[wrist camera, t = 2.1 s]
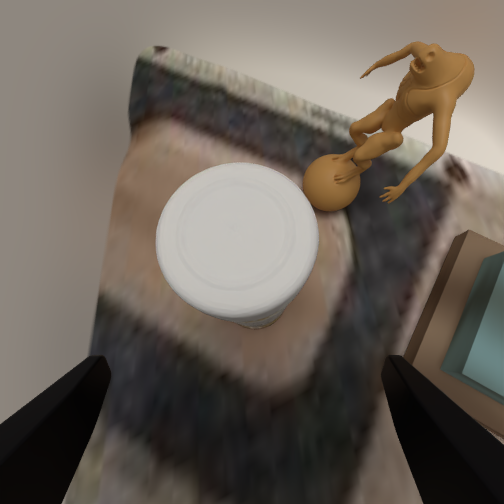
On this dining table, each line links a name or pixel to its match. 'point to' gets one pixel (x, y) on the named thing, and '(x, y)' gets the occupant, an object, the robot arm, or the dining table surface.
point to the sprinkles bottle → (238, 243)
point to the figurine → (394, 125)
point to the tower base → (445, 323)
